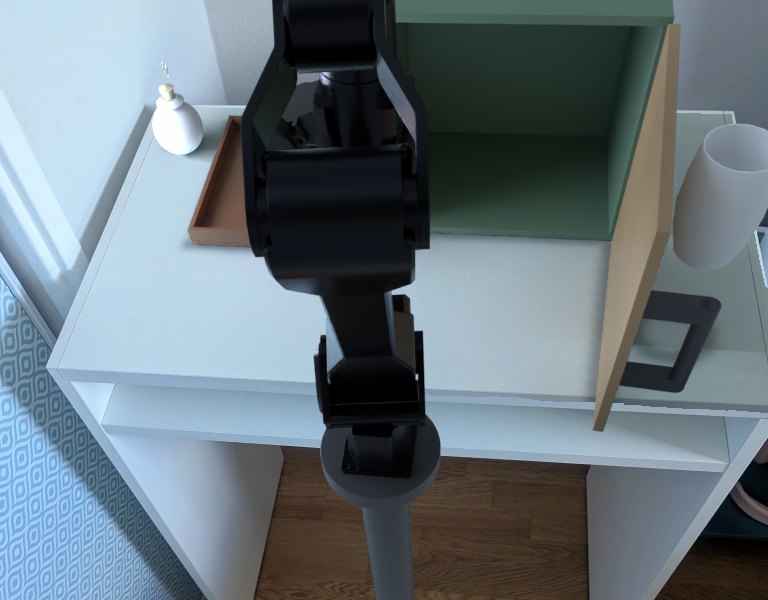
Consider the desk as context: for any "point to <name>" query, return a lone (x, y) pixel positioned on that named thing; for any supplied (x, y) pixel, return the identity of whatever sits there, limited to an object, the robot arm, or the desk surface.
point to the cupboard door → (648, 256)
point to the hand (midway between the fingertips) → (372, 236)
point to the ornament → (176, 122)
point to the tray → (223, 195)
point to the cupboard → (531, 109)
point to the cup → (722, 196)
